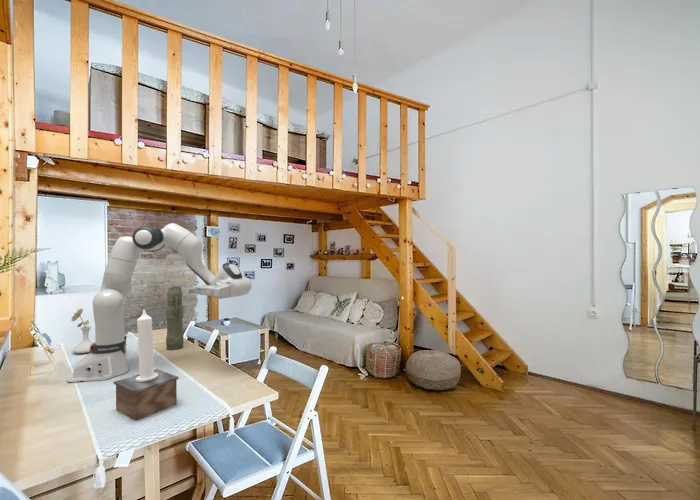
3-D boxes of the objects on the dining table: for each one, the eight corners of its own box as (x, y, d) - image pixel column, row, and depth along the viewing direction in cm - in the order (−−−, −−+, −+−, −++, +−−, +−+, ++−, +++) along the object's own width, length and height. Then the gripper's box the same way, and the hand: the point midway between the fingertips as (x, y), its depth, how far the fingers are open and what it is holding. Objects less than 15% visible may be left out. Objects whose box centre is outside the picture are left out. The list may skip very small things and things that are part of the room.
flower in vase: (86, 348, 194) (86, 305, 194) (103, 349, 193) (103, 305, 193) (64, 355, 181) (63, 309, 181) (82, 356, 180) (82, 309, 180)
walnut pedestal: (134, 421, 111) (134, 391, 111) (113, 409, 119) (113, 381, 119) (178, 404, 124) (178, 376, 124) (157, 394, 132) (157, 369, 132)
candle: (142, 383, 117) (139, 311, 117) (131, 380, 121) (128, 310, 121) (162, 376, 123) (159, 308, 123) (151, 373, 127) (148, 307, 127)
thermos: (179, 344, 203) (179, 286, 203) (186, 348, 194) (186, 287, 194) (163, 347, 197) (163, 287, 197) (169, 351, 188) (169, 288, 188)
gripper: (208, 281, 166) (181, 283, 154) (235, 283, 154) (208, 286, 143) (208, 294, 166) (181, 297, 154) (235, 297, 154) (208, 301, 143)
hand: (194, 292), depth 148 cm, fingers open, 8 cm apart
